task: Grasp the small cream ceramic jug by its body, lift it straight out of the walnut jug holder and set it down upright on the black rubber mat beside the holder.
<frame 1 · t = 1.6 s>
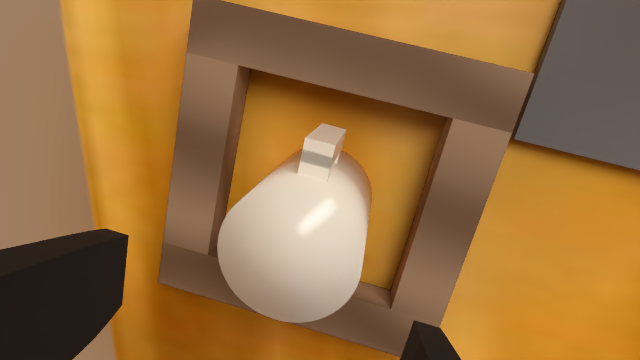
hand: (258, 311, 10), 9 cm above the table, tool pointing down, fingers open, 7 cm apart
jug: (321, 194, 19), resting in jug holder
jug holder: (324, 183, 19), on the table
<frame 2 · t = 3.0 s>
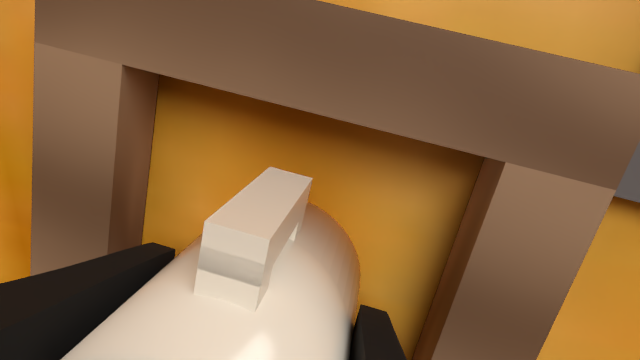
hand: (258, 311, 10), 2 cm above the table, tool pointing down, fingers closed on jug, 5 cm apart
jug: (280, 271, 12), resting in jug holder, touching gripper
jug holder: (284, 253, 12), on the table
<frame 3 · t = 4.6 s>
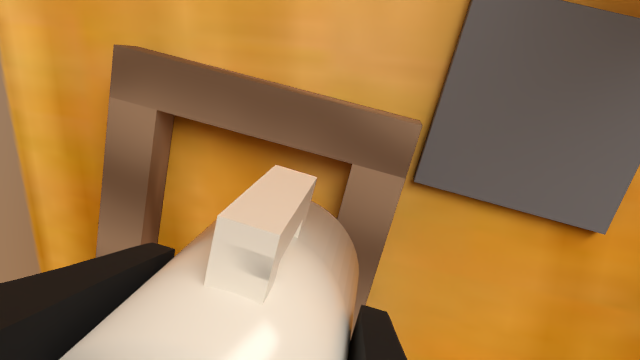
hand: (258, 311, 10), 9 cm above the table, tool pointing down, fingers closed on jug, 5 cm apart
jug: (280, 267, 12), point 7 cm above the table, touching gripper
jug holder: (246, 216, 20), on the table
mat: (540, 113, 16), on the table
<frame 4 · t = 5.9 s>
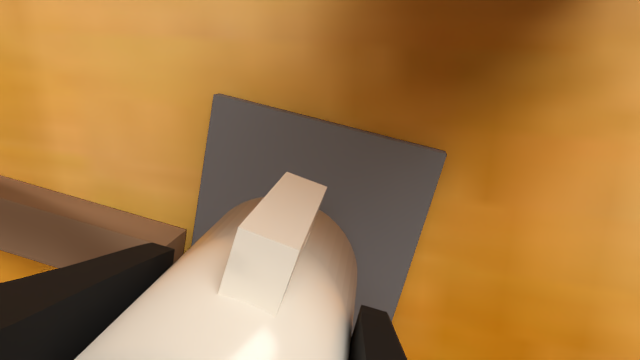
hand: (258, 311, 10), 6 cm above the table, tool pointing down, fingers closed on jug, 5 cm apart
jug: (279, 270, 12), point 3 cm above the table, touching gripper
jug holder: (34, 318, 19), on the table
mat: (304, 226, 15), on the table
when the fingers open (3 cm above the table, at t = 6.8 s): jug stays where it is, resting on mat.
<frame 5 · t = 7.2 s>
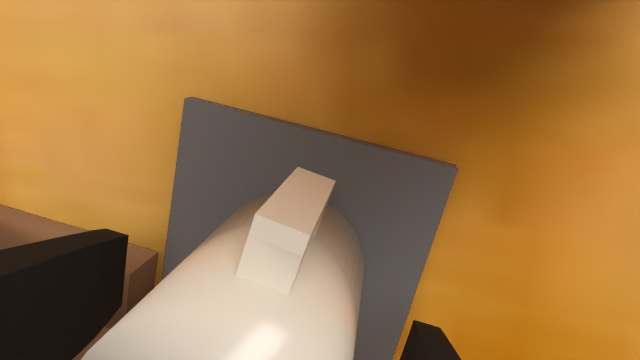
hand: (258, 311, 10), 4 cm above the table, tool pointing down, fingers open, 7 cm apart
jug: (290, 261, 13), point 1 cm above the table, touching mat
mat: (292, 249, 13), on the table
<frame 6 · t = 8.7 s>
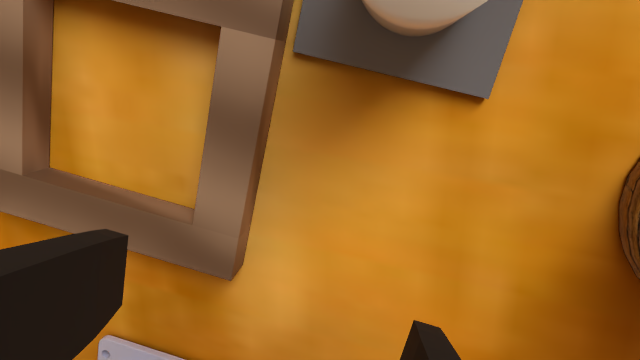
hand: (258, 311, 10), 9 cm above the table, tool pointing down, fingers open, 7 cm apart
jug holder: (134, 104, 19), on the table
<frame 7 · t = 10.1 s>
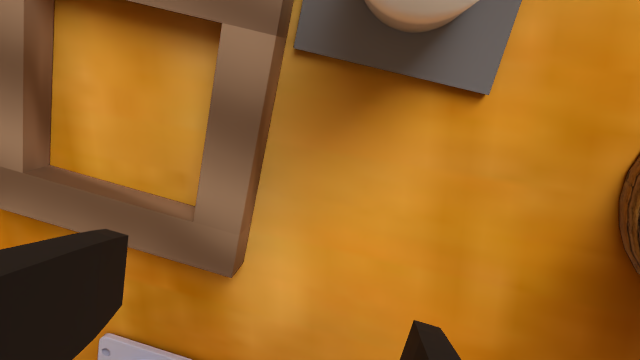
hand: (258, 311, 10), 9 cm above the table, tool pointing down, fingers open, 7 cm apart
jug holder: (134, 101, 19), on the table
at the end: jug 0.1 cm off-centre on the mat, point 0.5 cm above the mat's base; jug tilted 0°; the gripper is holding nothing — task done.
